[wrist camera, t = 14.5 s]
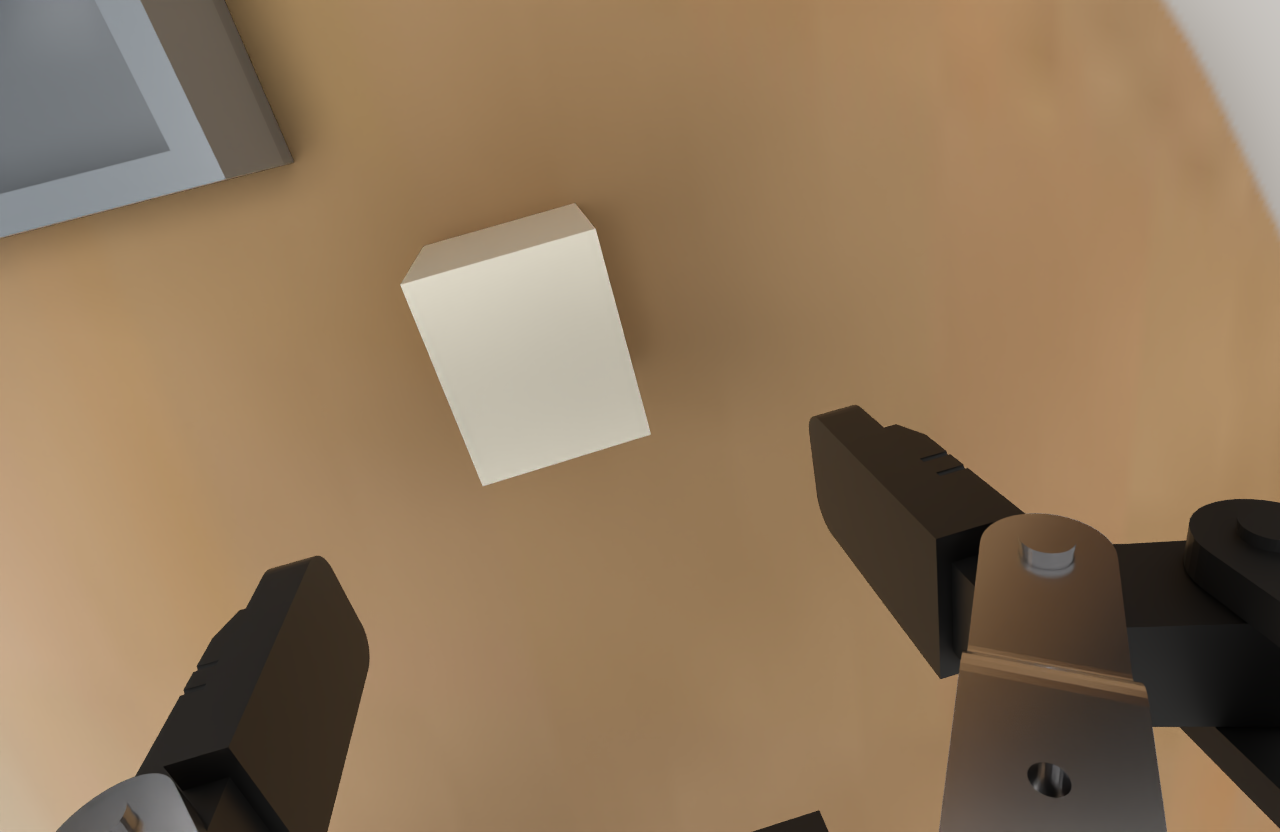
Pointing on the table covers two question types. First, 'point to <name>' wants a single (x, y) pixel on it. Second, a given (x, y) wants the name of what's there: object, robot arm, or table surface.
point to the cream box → (527, 342)
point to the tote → (123, 106)
